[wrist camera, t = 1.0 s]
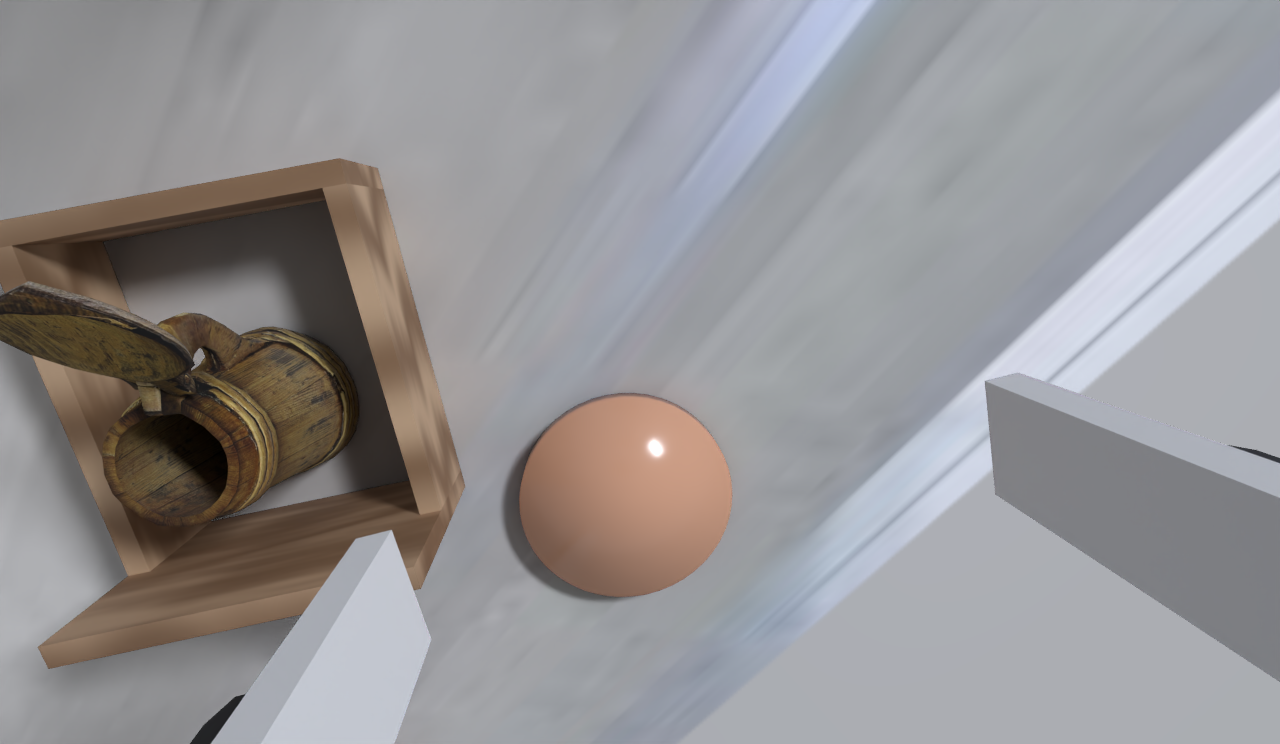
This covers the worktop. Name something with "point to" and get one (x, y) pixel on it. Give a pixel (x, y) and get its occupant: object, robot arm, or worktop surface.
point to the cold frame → (266, 540)
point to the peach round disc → (625, 495)
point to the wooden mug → (193, 401)
